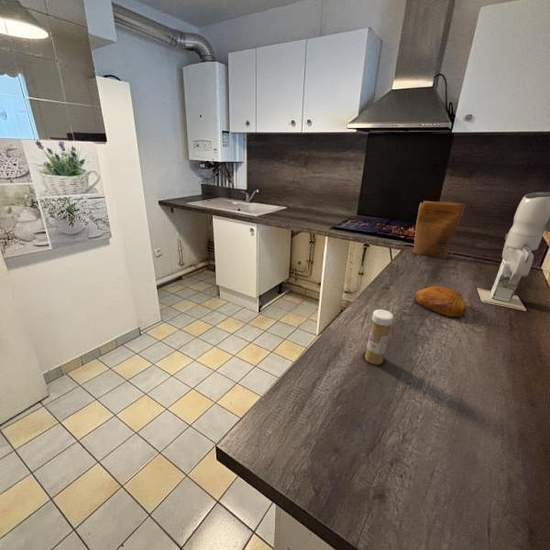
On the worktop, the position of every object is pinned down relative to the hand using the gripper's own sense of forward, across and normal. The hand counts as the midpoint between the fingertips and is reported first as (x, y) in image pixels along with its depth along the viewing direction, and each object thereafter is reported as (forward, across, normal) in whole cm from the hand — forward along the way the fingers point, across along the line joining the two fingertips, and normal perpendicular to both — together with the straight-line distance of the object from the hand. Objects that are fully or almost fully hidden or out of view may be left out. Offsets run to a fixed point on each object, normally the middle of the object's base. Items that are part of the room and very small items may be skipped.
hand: (508, 278), depth 104 cm
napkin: (+8, 0, 0) cm, 8 cm away
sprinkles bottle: (+8, -58, +36) cm, 69 cm away
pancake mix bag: (+8, +41, +24) cm, 48 cm away
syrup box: (+8, 0, 0) cm, 8 cm away
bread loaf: (+8, -18, +20) cm, 29 cm away
